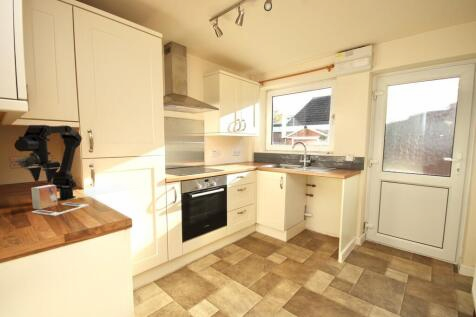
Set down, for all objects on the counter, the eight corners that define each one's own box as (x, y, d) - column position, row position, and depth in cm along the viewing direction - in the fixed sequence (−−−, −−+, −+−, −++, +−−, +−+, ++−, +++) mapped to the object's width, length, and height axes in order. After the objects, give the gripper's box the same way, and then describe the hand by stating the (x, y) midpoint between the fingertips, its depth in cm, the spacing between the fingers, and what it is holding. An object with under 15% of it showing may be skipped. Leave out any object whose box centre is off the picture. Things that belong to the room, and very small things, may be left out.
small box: (40, 209, 106) (38, 188, 105) (32, 208, 108) (30, 187, 107) (58, 204, 114) (56, 185, 113) (50, 204, 116) (49, 184, 115)
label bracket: (31, 212, 102) (31, 211, 102) (67, 202, 117) (67, 202, 117) (54, 215, 97) (54, 214, 97) (88, 205, 113) (88, 204, 112)
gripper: (6, 151, 103) (10, 183, 105) (33, 151, 98) (36, 186, 99) (34, 150, 114) (37, 179, 115) (60, 150, 108) (62, 181, 110)
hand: (42, 181), depth 110 cm, fingers open, 9 cm apart
